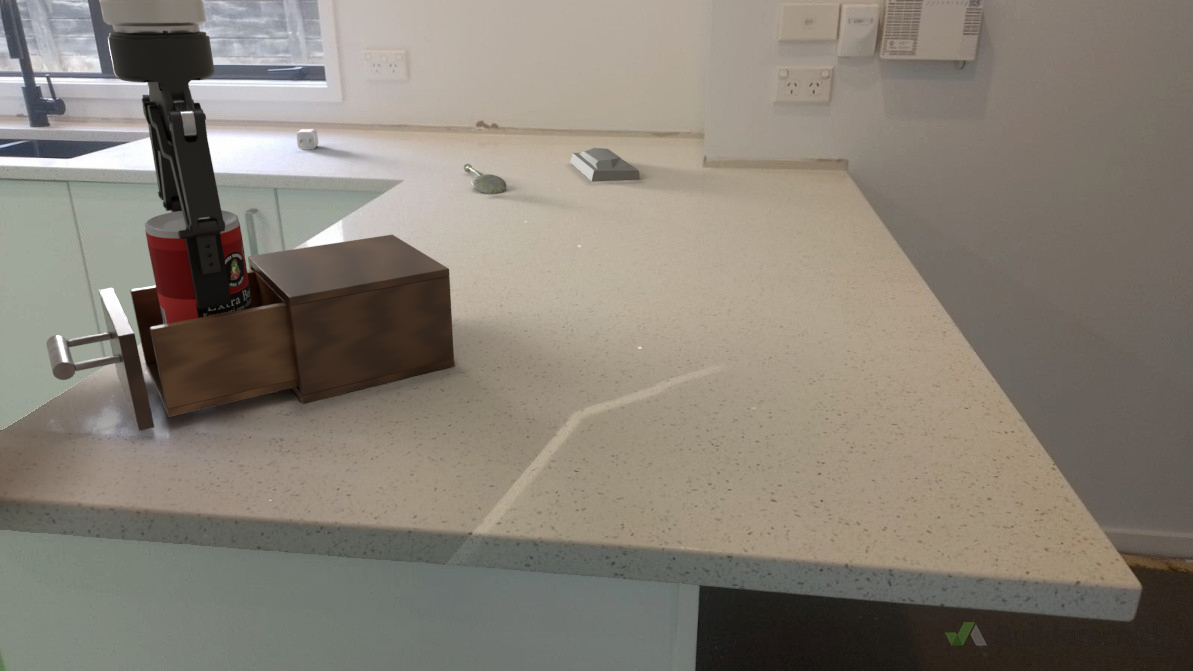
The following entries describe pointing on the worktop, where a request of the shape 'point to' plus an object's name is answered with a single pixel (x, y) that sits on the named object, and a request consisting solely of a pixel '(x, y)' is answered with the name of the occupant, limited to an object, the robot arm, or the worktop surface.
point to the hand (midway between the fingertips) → (203, 291)
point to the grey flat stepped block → (603, 165)
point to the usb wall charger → (307, 139)
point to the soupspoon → (486, 182)
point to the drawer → (191, 352)
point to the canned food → (176, 271)
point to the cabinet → (362, 312)
